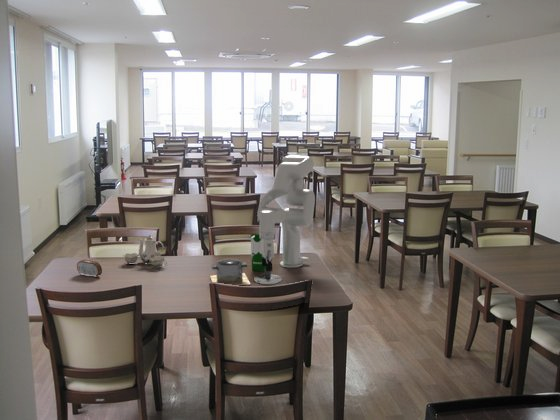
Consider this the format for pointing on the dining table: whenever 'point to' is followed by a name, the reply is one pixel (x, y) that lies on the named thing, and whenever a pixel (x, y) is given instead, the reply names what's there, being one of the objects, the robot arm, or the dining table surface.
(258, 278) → the lid
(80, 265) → the tin
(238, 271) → the pot
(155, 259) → the chinaware
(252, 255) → the soya milk
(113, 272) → the dining table surface
